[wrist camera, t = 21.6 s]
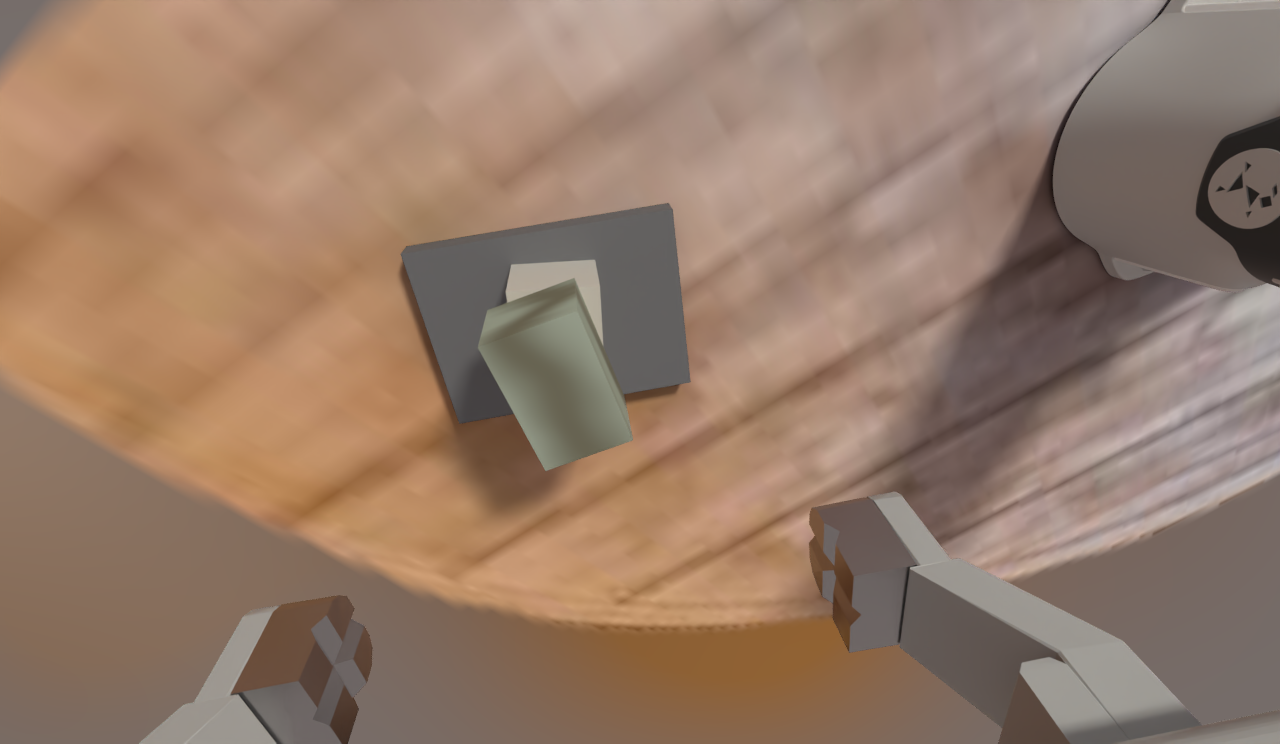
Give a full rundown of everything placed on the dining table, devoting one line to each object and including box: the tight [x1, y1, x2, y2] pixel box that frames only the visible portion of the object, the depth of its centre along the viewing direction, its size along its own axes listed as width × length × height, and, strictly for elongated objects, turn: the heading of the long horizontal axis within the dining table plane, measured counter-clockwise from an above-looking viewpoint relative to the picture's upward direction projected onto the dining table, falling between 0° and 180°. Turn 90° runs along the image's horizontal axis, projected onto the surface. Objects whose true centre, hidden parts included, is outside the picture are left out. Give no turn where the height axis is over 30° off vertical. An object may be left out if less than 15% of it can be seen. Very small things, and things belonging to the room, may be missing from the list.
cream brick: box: [506, 260, 603, 344], centre depth 35 cm, size 5×8×4 cm, turn 2°
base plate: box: [401, 203, 690, 424], centre depth 38 cm, size 16×12×2 cm
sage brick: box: [478, 278, 633, 471], centre depth 31 cm, size 5×8×4 cm, turn 19°
